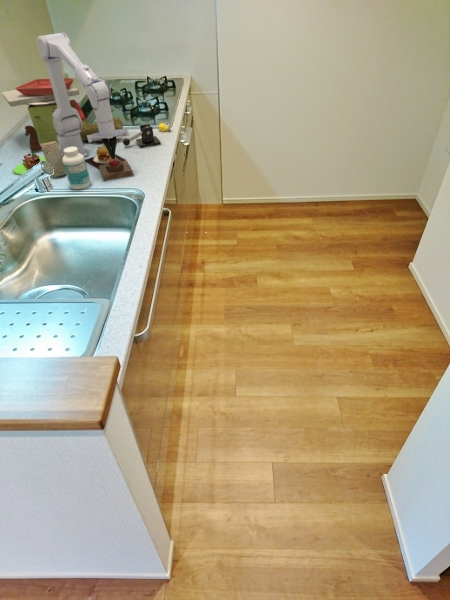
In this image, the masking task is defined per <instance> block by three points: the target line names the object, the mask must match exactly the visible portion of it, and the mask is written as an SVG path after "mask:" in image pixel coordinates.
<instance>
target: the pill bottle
mask: <svg viewBox="0 0 450 600" xmlns="http://www.w3.org/2000/svg"><path fill="white" fill-rule="evenodd" d="M64 154H65V156H64V157H63V156H62V157H63V159H62V161H63V164H64V168H65V171H66V173H65V175H66V178H67V181H68V184H69V186H70V187H71V189H72V190H73V189H74V190H84V189H87V188H88V187H90V185H91V183H92V181H91V178H90V174H89V171H88V166H87V162H86V161H85V156H83V155H82V154H80V153H78V149H77V147H67V148H65V149H64Z"/></svg>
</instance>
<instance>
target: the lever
mask: <svg viewBox="0 0 450 600" xmlns="http://www.w3.org/2000/svg"><path fill="white" fill-rule="evenodd" d="M146 127H148V126H146ZM146 127H144V128H146ZM141 135H143V133H142V132H141V131H140V132H138V133H136V134H134V135H133V136H131V137H129V138H127V137H125V138H123V140H122V144H123V145H124V146H126V147H127V146H130V144H131V142H132V141H134V140H136V139H139V137H141Z"/></svg>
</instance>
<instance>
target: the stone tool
mask: <svg viewBox="0 0 450 600" xmlns="http://www.w3.org/2000/svg"><path fill="white" fill-rule="evenodd" d="M113 122H114V127H115V130H121V129H124V127H123V122H122V120H121V118H120V117H119V116H116V117H113ZM98 132H99V129H98V125H97V122H96V123H89V122H87V121H86V120H85V121H84V120H82V129H81V132H80V135H81V139H82V141H84V142H87V141H88V138H87V135H91V134H94V133H98ZM95 142H102V140H96V141H95Z"/></svg>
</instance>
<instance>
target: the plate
mask: <svg viewBox="0 0 450 600" xmlns="http://www.w3.org/2000/svg"><path fill="white" fill-rule="evenodd" d="M53 104H56V100H55V99H53V100H47V101H41V102H36V103H30V104H24V105H25V106H29V105H32V106H46V105H53Z"/></svg>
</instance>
